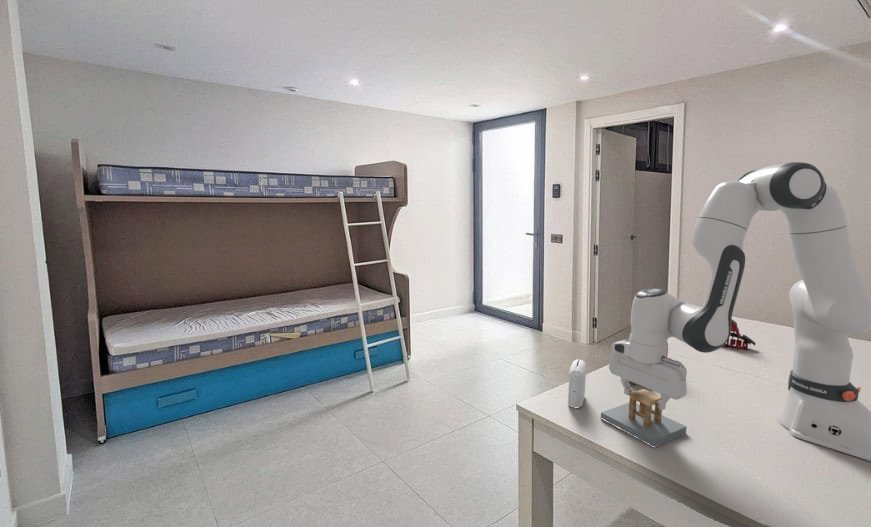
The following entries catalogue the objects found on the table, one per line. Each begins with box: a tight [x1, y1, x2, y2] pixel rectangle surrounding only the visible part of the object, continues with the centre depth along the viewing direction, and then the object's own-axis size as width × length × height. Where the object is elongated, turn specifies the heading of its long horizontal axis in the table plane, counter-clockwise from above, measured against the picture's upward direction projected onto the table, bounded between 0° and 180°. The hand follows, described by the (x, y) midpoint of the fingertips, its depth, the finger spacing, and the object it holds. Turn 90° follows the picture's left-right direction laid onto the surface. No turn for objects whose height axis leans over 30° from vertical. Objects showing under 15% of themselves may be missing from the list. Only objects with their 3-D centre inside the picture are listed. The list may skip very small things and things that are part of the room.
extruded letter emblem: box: [723, 319, 756, 351], centre depth 177 cm, size 18×4×11 cm, turn 52°
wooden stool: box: [628, 388, 663, 428], centre depth 115 cm, size 6×6×7 cm
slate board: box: [600, 402, 687, 448], centre depth 116 cm, size 16×13×2 cm
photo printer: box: [567, 358, 587, 408], centre depth 129 cm, size 10×4×12 cm, turn 156°
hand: (643, 401), depth 115 cm, fingers open, 8 cm apart
